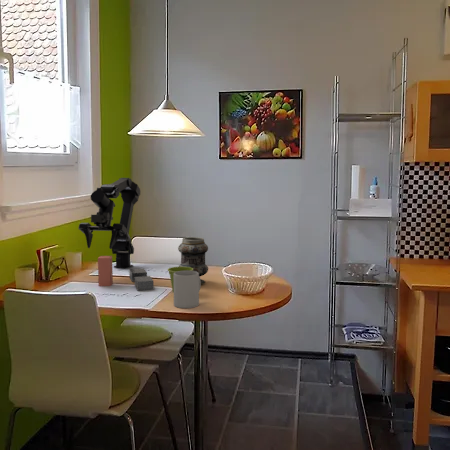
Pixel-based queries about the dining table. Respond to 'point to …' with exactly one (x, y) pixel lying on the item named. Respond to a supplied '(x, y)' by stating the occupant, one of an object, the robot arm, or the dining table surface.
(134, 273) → the gray block
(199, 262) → the apothecary jar
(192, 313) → the dining table surface
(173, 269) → the plant pot
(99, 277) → the pink rectangular block
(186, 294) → the mug
